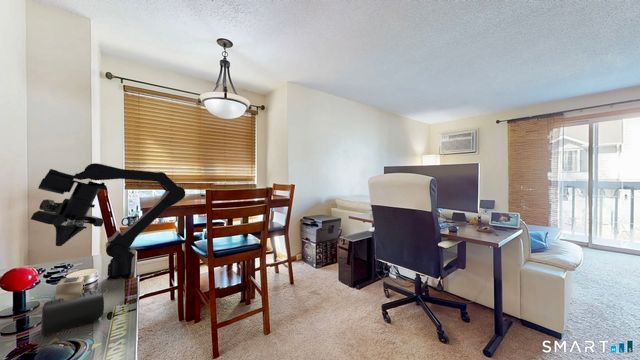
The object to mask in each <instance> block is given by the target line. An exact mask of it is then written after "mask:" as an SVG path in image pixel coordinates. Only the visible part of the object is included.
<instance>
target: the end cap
mask: <svg viewBox="0 0 640 360" xmlns="http://www.w3.org/2000/svg"><path fill="white" fill-rule="evenodd" d="M104 311H105V299H104V294H103V292H96V291H95V290H90V291H87V292H84V293H82V294H80V298H76V299H72V300H68V301H64V299H63V298H61V299H60V298H59V299H57V300H55V299H54V300H49V301H46V302H45V303H44V304H43V306H42V308H41V322H40V323H41V324H40V326H41V327H40V335H41V336H43V337H47V336H50V335H54V334H57V333H59V332H63V331H66V330H70V329H73V328H77V327H80V326H82V325H87V324H89V323H92V322H95V321H98V320H100V318H102V317H103V315H104Z"/></svg>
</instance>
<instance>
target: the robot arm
mask: <svg viewBox="0 0 640 360" xmlns="http://www.w3.org/2000/svg"><path fill="white" fill-rule="evenodd" d="M77 180H79V181H77ZM83 180H89V181H88V182H87V183H86V182H83ZM107 180H111V181H112V180H130V181H131V180H132V181H133V180H134V181H145V182H146V181H147V182H157V184H158V185H159V186H160V187H161V189H163V190H164V192H163V194H162V195H161V196H160V198H159V199H158V201H157V202H156V203H155V204H154V205H152V207H150V208H149V209H148V210H147V211H146V212H145V213H144V214H143V215H141V216H140V217H139V218H137V219H136V221H135V222H133V223H132V224H131V225H130V226H129V227H128V228H127V229H125V230H123V231H120V230H119V229H118V230H116V231H115V233H114V234H113V235H112V236H110V237H108V238H107V242H106V243H105V245H104V246H105V253H106V255H107V256H108V257H110V258H111V259H110V260H109V263H108V265H107V280H112V279H114V280H115V279H116V280H117V279H125V278H130V277H132V275H133V274H134V273H135V269H134V266H135V265H134V264H135V253H134V251H133V249H132V248H131V246H132V245H133V243H134V242H135V240H136V238H137V237H138V236H139V235H140V234H141V233H142V232H144V230H146V229H147V228H148V227H149V226H150V225H151V224H152V223H153V222H154V221H155V220H157V218H159V216H161V215H162V214H164V212H165V211H166V210H167V209H169V208H170V207H173V206H174V205H176V204H178V203H179V202H180V201H182V200H183V199H184V198H185V196H186V190H185V189H184V188H183V186H178V185H177V184H176V183H175V182H174V181H173V180H172V179H171V178H170V177H168V176H167V174H166V173H165V172H162V171H150V170H149V171H146V170H137V169H136V170H135V169H125V168H124V169H123V168H119V167H114V166H111V165H106V164H102V163H96V162H93V163H90V164H88V165H86V166H85V168H84V170H83V171H81V172H76V173H75V174H69V173H66V172H63V171H59V170H58V169H54V168H50V169H49V170H48V172H47V173H46V175H45V176H44V177H43V178H42V179H41V181H40V182H39V185H38V190H40V191H41V190H42V191H46V192H50V193H54V194H60V195H64V194H65V193H70V192H71V191H72V189H73V188H74V187H75V188H74V189H73V191H72V193H71V195H70V197H69V198H65V199H63V201H62V202H55V201H54V199H43V200H42V201H41V203H40V204H39V207H38V208H39V210H37V211H35V212H33V213H32V216H31V217H30V220H32V221H35V222H39V223H43V224H47V225H52V226H54V228H55V246H57V247H62V246H64V245H65V244H66V243H67V242H68V241H70V240H71V239H72V238H73V237H75V236H76V235H77V234H79V233H80V232H81V231H83V230H85V229H87V226H84V225H85V224H90V225H93V227H98V228H99V227H102V226H103V225H104V219H103V218H101V217H98V216H94V215H90V214H88V213H89V211H90V209H91V208H92V209H94V208H95V206H96V204H93V202H94V201H95V199H96V197H97V195H98V193H99V191H100V190H102V191H103V190H104V191H107V190H108V187H106V185H105V182H100V183H98V182H95V181H107ZM75 184H76V185H75ZM74 185H75V186H74Z"/></svg>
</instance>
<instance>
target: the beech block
mask: <svg viewBox="0 0 640 360" xmlns="http://www.w3.org/2000/svg"><path fill="white" fill-rule="evenodd" d="M76 277H77V278H76ZM83 284H84V277H80V276H75V277H74V276H71V277H64V278H61V279H60V280H59V282H58V283H57V284H56V286H55V299H54V300H57V299H59V298H60V299H61V298H63V299H64V301H68V300H72V299H76V298H80V294H82V293H85V289H84V290H83ZM84 285H85V284H84Z"/></svg>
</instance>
